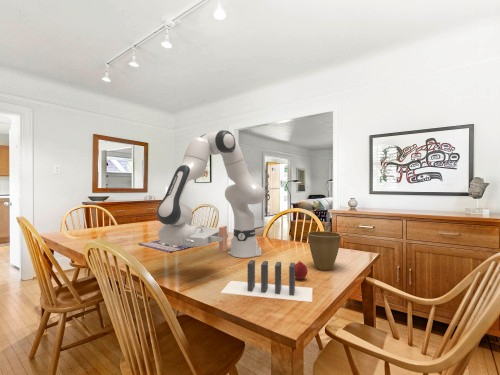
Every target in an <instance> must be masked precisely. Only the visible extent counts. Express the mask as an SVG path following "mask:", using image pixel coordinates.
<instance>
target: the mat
mask: <svg viewBox="0 0 500 375" xmlns="http://www.w3.org/2000/svg"><path fill="white" fill-rule="evenodd" d="M220 294H228V295H238V296H247V297H259V298H268V299H279V300H288V301H297V302H298V301H299V302H309V303H312V302H313V287H306V286H296V285H295V292H294V296H292V295H289V285H284V284H283V285H282V284H281V291H280V294H275V283H274V284H273V283H272V284H271V283H268V289H267V291H266V293H261V282H255V287H254V289H253V291H252V292H250V291H248V281H238V280H237V281H236V280H230V281H229V282H228V283H227V284H226V286H225V287H224V288H223V289H222V290H221V291H220Z"/></svg>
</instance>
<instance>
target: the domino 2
mask: <svg viewBox="0 0 500 375" xmlns="http://www.w3.org/2000/svg"><path fill="white" fill-rule="evenodd" d="M260 271H261V272H260V283H261V293H266V291H267V289H268V284H269V261H268V260H263V261H262V263H261V264H260Z"/></svg>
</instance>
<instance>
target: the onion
mask: <svg viewBox="0 0 500 375" xmlns="http://www.w3.org/2000/svg"><path fill="white" fill-rule="evenodd" d="M307 275H308V268H307V266H306V265H305V263H303V262H302V261H301V260H297V263H295V279H297V280H298V281H301V280H303V279H305V277H307Z"/></svg>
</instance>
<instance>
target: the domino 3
mask: <svg viewBox="0 0 500 375" xmlns="http://www.w3.org/2000/svg"><path fill="white" fill-rule="evenodd" d="M274 285H275V294H280V291H281V285H282V261H276V263H275V266H274Z"/></svg>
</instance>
